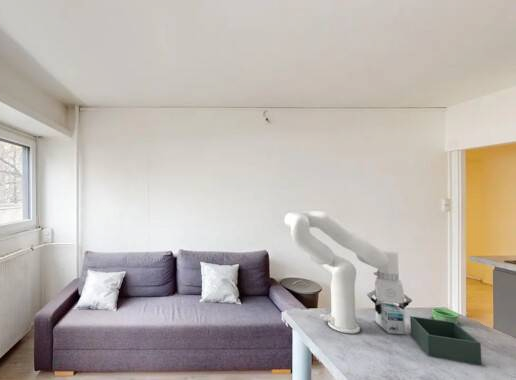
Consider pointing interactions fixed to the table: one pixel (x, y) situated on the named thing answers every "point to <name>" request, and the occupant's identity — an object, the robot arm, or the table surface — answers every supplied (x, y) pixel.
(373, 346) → the table surface
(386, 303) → the light bulb box
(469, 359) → the open storage box
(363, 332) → the table surface
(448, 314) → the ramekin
